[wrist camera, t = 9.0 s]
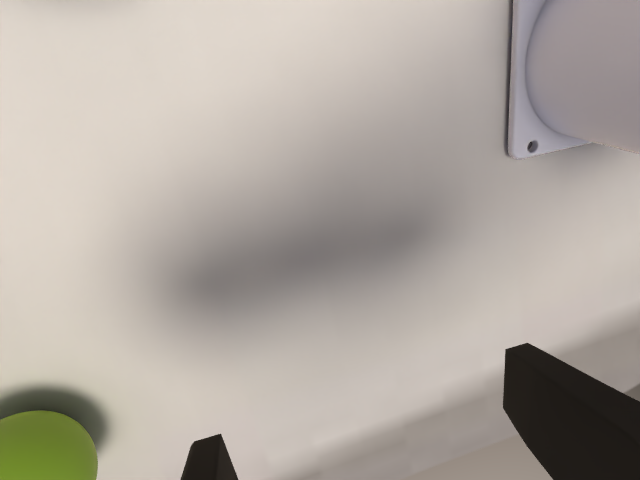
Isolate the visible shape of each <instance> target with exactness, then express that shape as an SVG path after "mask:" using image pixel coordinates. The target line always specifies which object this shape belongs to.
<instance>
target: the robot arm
mask: <svg viewBox="0 0 640 480" xmlns="http://www.w3.org/2000/svg"><path fill="white" fill-rule="evenodd" d="M531 141H532V146H531V148H530V149H529V150H528V149H527V147H528V144H529V143H530V142H531ZM590 143H598V144H602V145H606V146H610V147H614V148H618V149H622V150H626V151H630V152H634V153H638V154H640V0H513V22H512V48H511V75H510V101H509V128H508V154H509V155H510V157H512V158H515V159H518V160H519V159H525V158H530V157H534V156H538V155H543V154H547V153H551V152H555V151H560V150H564V149H568V148H572V147H577V146H581V145H585V144H590ZM503 408H504V410H505V412H506V413H507V415H508V417H509V418H510V420H511V422H512V423H513V425H514V427H515V428H516V430H517V431H518V433H519V434H520V436H521V437H522V439H523V441H524V442H525V444H526V445H527V447H528V448H529V449H530V450H531V452H532V453H533V454H534V456H535V457H536V458H537V460H538V461H539V462H540V463H541V465H542V466H543V467H544V468H545V469H546V471H547V472H548V474H549V475H550V476H551V477H552V478H553V480H640V402H639V401H637V400H635V399H633V398H631V397H629V396H627V395H625V394H623V393H621V392H619V391H617V390H616V389H614V388H612V387H610V386H608V385H606V384H604V383H602V382H600V381H598V380H596V379H594V378H593V377H591V376H589V375H587V374H585V373H583V372H581V371H579V370H578V369H576V368H574V367H572V366H570V365H568V364H566V363H565V362H563V361H561V360H559V359H557V358H555V357H554V356H552V355H550V354H548V353H546V352H544V351H542V350H540V349H539V348H537V347H535V346H533V345H531V344H529V343H525V344H522V345H519V346H515V347H512V348H509V349H506V352H505V374H504V396H503ZM181 480H238V478H237V475H236V472H235V470H234V467H233V464H232V462H231V459H230V457H229V454H228V451H227V449H226V446H225V443H224V441H223V438H222V435H221V434H218V435H215V436H211V437H208V438H205V439H201V440H198V441H194V443H193V444H192V446H191V448H190V451H189V454H188V458H187V461H186V464H185V467H184V471H183V474H182V477H181Z"/></svg>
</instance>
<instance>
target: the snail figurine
mask: <svg viewBox="0 0 640 480" xmlns="http://www.w3.org/2000/svg"><path fill="white" fill-rule="evenodd" d="M97 469H98V461H97V453H96V449H95V446H94V443H93V441H92V439H91V437H90V435H89V434H88V432H87V431H86V430H85V428H84V427H83V426H82V425H81V424H79V423H78V422H77V421H75V420H74V419H72V418H70V417H68V416H66V415H64V414H61V413H57V412H52V411H43V410H37V411H27V412H21V413H17V414H14V415H11V416H8V417H5V418H3V419H1V420H0V480H96V477H97Z"/></svg>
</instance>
